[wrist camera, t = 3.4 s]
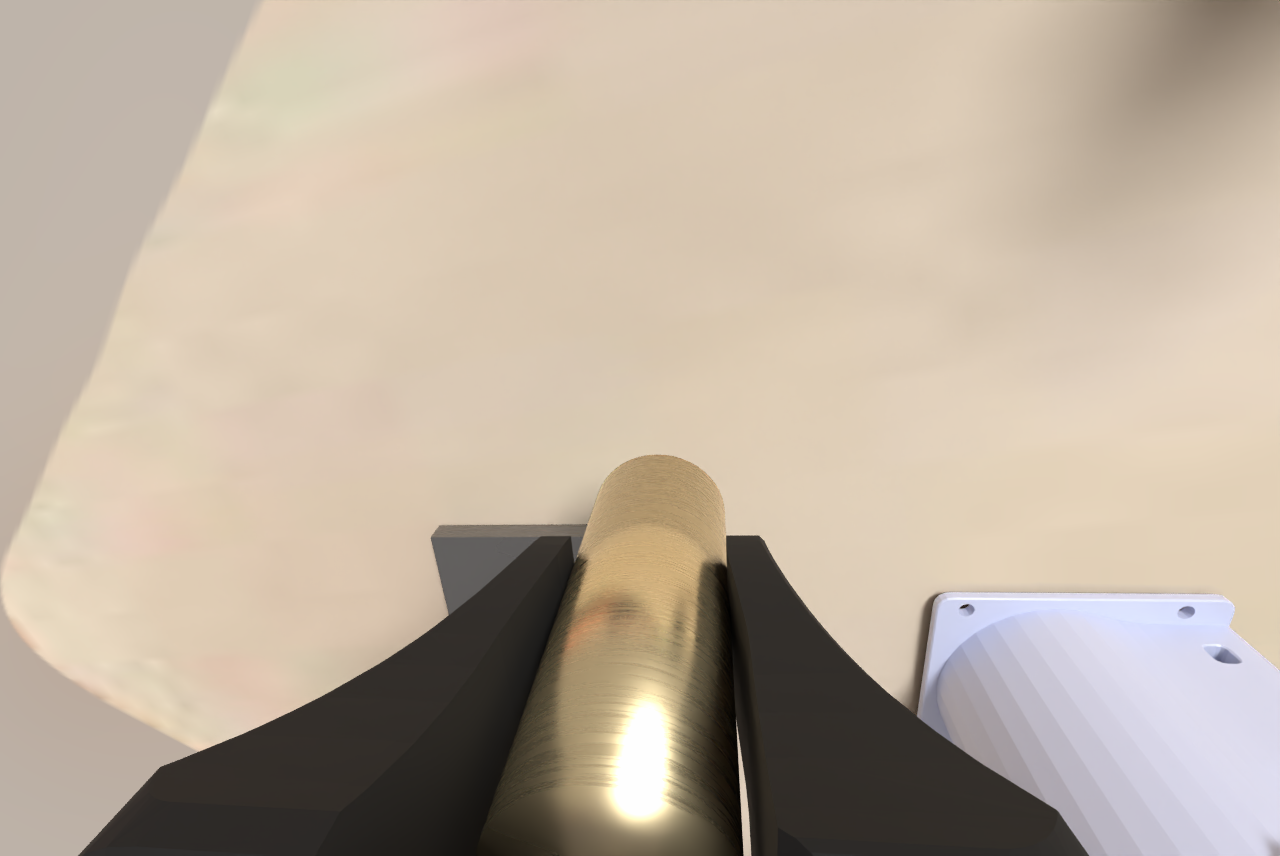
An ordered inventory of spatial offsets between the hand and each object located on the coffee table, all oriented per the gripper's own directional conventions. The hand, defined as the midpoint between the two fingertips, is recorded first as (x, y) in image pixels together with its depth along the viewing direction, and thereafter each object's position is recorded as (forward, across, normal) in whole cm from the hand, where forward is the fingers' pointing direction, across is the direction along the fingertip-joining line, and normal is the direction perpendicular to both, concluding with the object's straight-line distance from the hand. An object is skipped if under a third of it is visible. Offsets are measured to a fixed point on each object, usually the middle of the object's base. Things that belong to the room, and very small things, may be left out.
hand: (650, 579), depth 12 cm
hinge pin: (+2, 0, 0) cm, 2 cm away
